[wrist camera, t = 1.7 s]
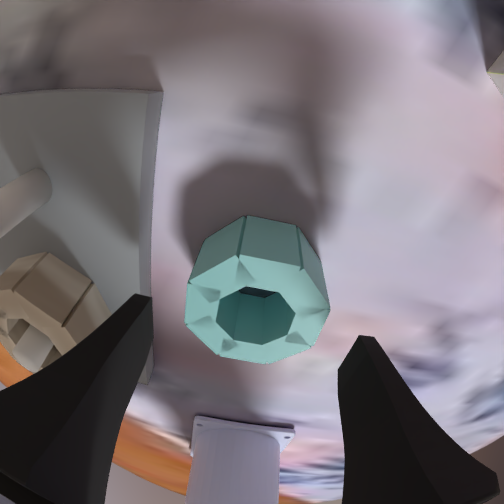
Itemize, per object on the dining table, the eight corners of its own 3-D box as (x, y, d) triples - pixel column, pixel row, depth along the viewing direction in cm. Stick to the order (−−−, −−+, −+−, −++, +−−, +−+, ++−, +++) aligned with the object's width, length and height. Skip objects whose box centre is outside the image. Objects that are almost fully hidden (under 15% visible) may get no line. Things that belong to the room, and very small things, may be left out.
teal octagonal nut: (298, 322, 15) (301, 369, 13) (196, 303, 15) (182, 348, 13) (332, 233, 13) (345, 275, 10) (208, 207, 12) (191, 244, 10)
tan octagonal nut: (134, 352, 15) (117, 396, 13) (53, 349, 17) (33, 382, 14) (75, 245, 12) (39, 285, 9) (-1, 263, 13) (-32, 294, 11)
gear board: (154, 367, 18) (129, 439, 14) (13, 318, 18) (-22, 369, 13) (163, 91, 10) (81, 107, 5) (-27, 98, 10) (-102, 126, 5)
